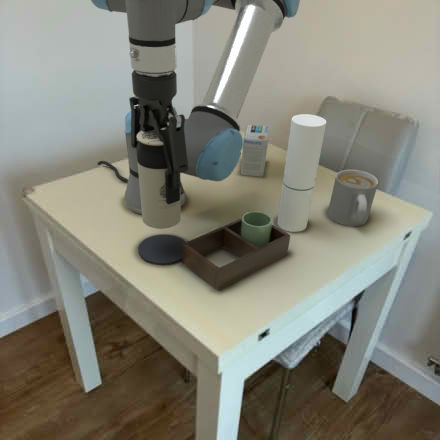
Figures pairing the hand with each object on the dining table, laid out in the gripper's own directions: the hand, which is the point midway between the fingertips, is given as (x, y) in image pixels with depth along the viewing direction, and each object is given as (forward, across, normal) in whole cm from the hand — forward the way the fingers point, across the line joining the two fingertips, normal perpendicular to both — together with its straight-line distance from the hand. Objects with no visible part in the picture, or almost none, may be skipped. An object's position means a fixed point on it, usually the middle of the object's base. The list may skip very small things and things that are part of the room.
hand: (160, 193), depth 91 cm
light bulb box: (+14, -18, +45) cm, 50 cm away
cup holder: (+14, +12, +10) cm, 21 cm away
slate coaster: (+14, 0, 0) cm, 14 cm away
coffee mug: (+14, +17, +44) cm, 49 cm away
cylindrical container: (+14, +10, +31) cm, 36 cm away
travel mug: (+6, 0, 0) cm, 6 cm away
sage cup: (+14, +12, +16) cm, 24 cm away
